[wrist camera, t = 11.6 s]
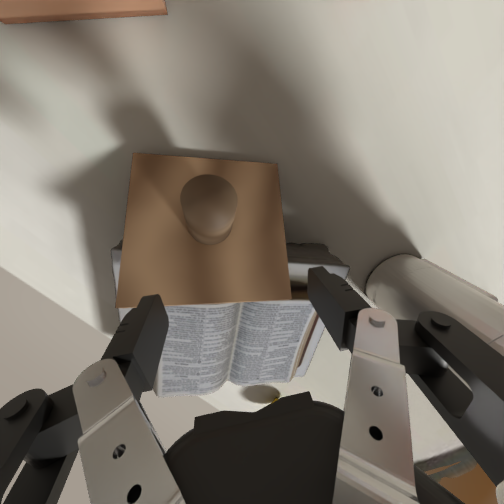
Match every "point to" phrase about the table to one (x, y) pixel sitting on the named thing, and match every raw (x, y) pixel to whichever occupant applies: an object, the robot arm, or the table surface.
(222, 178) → the lid
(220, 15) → the table surface
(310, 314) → the bible
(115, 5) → the dish
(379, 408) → the robot arm
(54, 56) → the table surface
